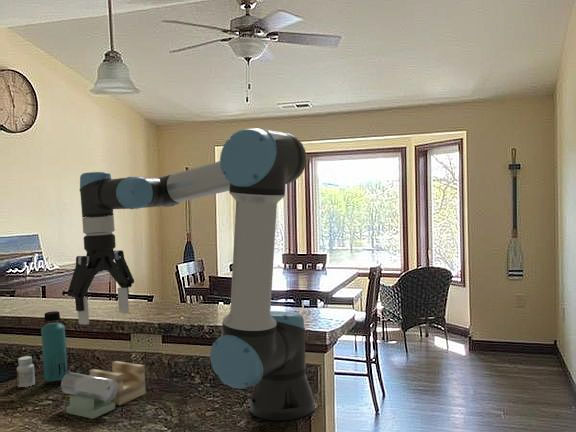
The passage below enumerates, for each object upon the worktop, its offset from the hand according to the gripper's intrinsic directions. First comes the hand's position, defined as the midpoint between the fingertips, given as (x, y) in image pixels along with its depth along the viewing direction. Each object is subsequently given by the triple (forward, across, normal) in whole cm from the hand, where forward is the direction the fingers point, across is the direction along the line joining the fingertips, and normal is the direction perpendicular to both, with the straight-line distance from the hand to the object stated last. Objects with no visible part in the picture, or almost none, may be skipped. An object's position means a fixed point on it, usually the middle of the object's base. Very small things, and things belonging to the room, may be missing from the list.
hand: (104, 318), depth 147 cm
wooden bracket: (+21, -3, 0) cm, 21 cm away
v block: (+21, +7, 0) cm, 22 cm away
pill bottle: (+20, 0, -31) cm, 37 cm away
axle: (+15, +7, 0) cm, 17 cm away
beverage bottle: (+21, -5, -25) cm, 33 cm away
